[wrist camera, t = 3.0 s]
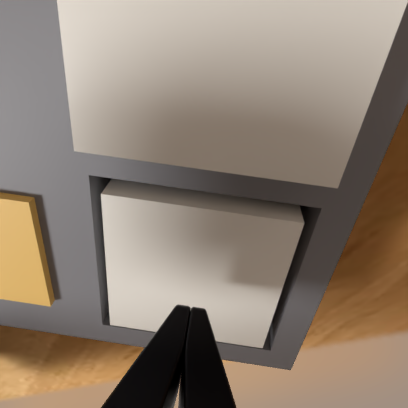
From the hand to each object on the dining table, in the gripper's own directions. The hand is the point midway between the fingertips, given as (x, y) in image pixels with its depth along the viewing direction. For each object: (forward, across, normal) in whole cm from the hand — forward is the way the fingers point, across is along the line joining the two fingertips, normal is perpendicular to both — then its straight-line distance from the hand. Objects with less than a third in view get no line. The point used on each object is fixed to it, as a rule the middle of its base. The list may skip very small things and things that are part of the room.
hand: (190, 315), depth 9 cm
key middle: (+3, 0, -7) cm, 8 cm away
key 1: (+4, 0, 0) cm, 4 cm away
